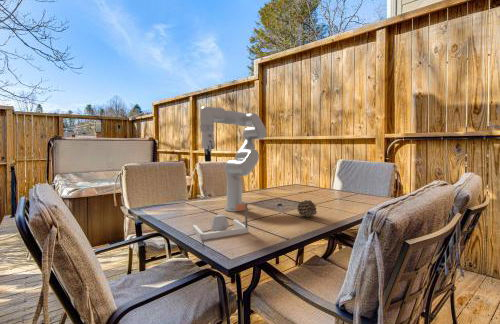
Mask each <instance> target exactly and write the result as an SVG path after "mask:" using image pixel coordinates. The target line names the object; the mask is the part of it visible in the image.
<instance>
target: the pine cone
mask: <svg viewBox="0 0 500 324" xmlns="http://www.w3.org/2000/svg"><path fill="white" fill-rule="evenodd" d="M293 204H294V206H295V207H296V210H297V212H298V214H299V215H300V216H303V217H306V218H307V217H308V218H309V217H313V216H315V215H317V213H318V211H317V205H316V204H315V202H313V201H312V200H309V199H305V200H302V201H301V202H299V203H298V204H297V202H296V201H294V202H293Z"/></svg>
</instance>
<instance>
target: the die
mask: <svg viewBox="0 0 500 324" xmlns="http://www.w3.org/2000/svg"><path fill="white" fill-rule="evenodd" d="M209 223H210V225H211V226H210V228H211V229H212V232H215V231H221V230H228V229H229V227H230V224H229V220H228V219H227V216H226V215H223V214H220V213H218V214H216V215H215V216H214V217H212V218H211V220H210V221H209Z"/></svg>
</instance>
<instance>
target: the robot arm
mask: <svg viewBox="0 0 500 324" xmlns="http://www.w3.org/2000/svg"><path fill="white" fill-rule="evenodd" d="M199 111H200V112H199V116H200V117H199V118H200V119H199V121H200V125H199V126H200V132H201V148H202V149H203V152H204V162H212V151H213V150H214V149H215V147H216V146H215V123H217V124H224V125H234V126H239V127H246V128H244V130H243V131H242V132H243V133H242V135H243V144H242V145H241V147H239V149H238V150H237V152H236V154H235V155H234V159H229V160H228V161H226V163H224V164H225V165H224V172H225V177H226V206H225V207H224V211H227V212H237V211H236V204H244V203H247V206H249V204H250V202H249V201H243V193H242V192H243V186H242V185H243V181H242V178H241V176H243V177H245V176H248V175H250V174H251V172H252V171H253V169H255V167H256V165H257V164H258V163H259V158H260V155H259V152H258V150H256V149H255V148H256V145H255V143H254V140H263V139H265V138H266V136H267V134H268V133H267V129H266V126H265V125H264V122H263V121H262V120H261V117H260V116H259V115H258V114H257V113H256V112H246V113H245V112H241V111H236V110H226V109H225V108H223V107H220V106H219V107H212V106H202V107H200V110H199ZM241 211H243V210H240V211H239V212H241Z"/></svg>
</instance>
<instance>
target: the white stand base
mask: <svg viewBox="0 0 500 324" xmlns="http://www.w3.org/2000/svg"><path fill="white" fill-rule="evenodd" d="M240 210H242V211H244V212H245V213H244V216H245V217H244V222H245V223H243V222H241V221H239V220H238V219H233V221H232V222H233V224H232V225H233V226H235V228H227V229H226V230H221V231H215V232H214V231H209V232H204V231H202V230H201V229H200V228H199V227H198V226H197V224H193V225H192V231H193V233H196V234H195V235H196V236H197V237H198V238H199V240H200V241H205V240H211V239H216V238H217V239H218V238H224V237H230V236H235V235H243V234H248V233H249V226H248V205H247V203H246V202H245V203H244V204H236V211H235V212H241V211H240Z"/></svg>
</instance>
